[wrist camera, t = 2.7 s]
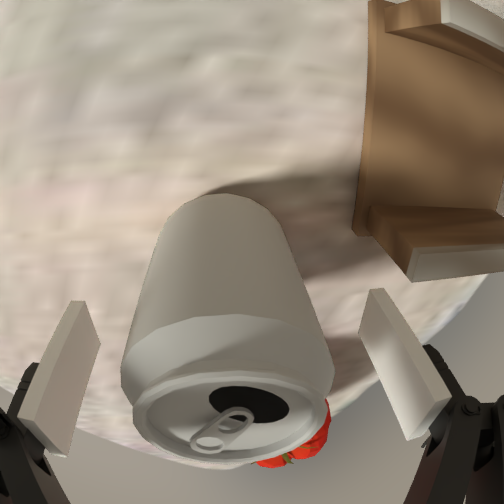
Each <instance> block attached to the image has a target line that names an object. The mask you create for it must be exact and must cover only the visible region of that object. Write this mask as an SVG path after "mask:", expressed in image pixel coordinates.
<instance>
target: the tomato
mask: <svg viewBox="0 0 504 504" xmlns="http://www.w3.org/2000/svg"><path fill="white" fill-rule="evenodd" d="M325 402H326V404H327V407H328V412H327V416H326V419H325V422H324V424H323V426H322V427H321V428H320V429H319V430H318V431H317V432H316V434H315V435H314V436H313V437H312V438H311V439H310V440H308V441H307V442H305V443H303V444H302V445H300V446H299V447H297V448H296V449H294V450H291V451H289V452H286V453H284V454H281V455H279V456H276V457H273V458H269V459H265V460H260V461H255V462H256V463H257V464H258V465H260V466H262V467H268V468H275V467H281V466H285V465H286V463H292V462H291V461H290V460H291V459H292V458H295V459H306V458H309V457H312V456H315V455H316V454H317V453H318V452H319V451H320V450H321V448H322V447H323V445H324V444H325V442H326V441H327V434H328V428H329V425H330V422H331V416H330V409H329V404H328V402H327V399H326V398H325ZM255 462H253V463H255ZM253 463H251V464H253ZM292 464H293V463H292Z"/></svg>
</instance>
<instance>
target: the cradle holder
mask: <svg viewBox="0 0 504 504" xmlns="http://www.w3.org/2000/svg"><path fill="white" fill-rule="evenodd" d="M503 179H504V20H503V19H502V18H500V17H499V16H497V15H495V14H493V13H492V12H490V11H488V10H486V9H485V8H483V7H481V6H479V5H477V4H475V3H474V2H472V1H470V0H409V1H406V2H402V3H399V4H395V3H392V2H388V1H385V0H371V1H368V71H367V92H366V108H365V121H364V133H363V144H362V154H361V163H360V172H359V180H358V188H357V196H356V203H355V210H354V217H353V224H352V230H353V231H354V232H355V234H356V235H357V236H373V237H374V238H375V239H376V240H377V241H378V243H379V244H380V245H381V246H382V247H383V248H384V250H385V251H386V252H387V253H388V254H389V256H390V257H391V258H392V259H393V260H394V262H395V263H396V264H397V265H398V266H399V268H400V269H401V270H402V271H403V273H404V274H405V275H406V276H407V278H408V279H409V280H410V281H411V283H413V282H422V281H431V280H440V279H448V278H457V277H465V276H473V275H480V274H488V273H494V272H502V271H504V217H502V216H501V215H499V214H498V213H497V212H495V211H496V208H497V204H498V200H499V196H500V192H501V188H502V183H503Z"/></svg>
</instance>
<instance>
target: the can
mask: <svg viewBox="0 0 504 504" xmlns="http://www.w3.org/2000/svg"><path fill="white" fill-rule="evenodd" d="M335 372H336V371H335V367H334V364H333V361H332V357H331V354H330V351H329V348H328V345H327V343H326V340H325V337H324V335H323V332H322V329H321V327H320V324H319V321H318V319H317V316H316V313H315V311H314V308H313V306H312V303H311V300H310V298H309V295H308V293H307V290H306V287H305V285H304V282H303V280H302V277H301V275H300V272H299V270H298V267H297V265H296V262H295V260H294V257H293V255H292V252H291V250H290V247H289V245H288V242H287V240H286V237H285V235H284V232H283V230H282V227H281V225H280V223H279V222H278V221H277V220H276V218H275V217H274V216H273V215H272V214H271V213H270V211H269V210H268V209H267V208H265V207H263V206H262V205H260V204H258V203H257V202H255V201H253V200H252V199H250V198H247V197H242V196H238V195H233V194H229V193H224V194H212V195H204V196H202V197H199V198H197V199H194V200H192V201H189V202H187V203H185V204H184V205H182V206H181V207H180V208H179V209H178V210H177V211H175V212H174V213H173V214H172V215H171V216H170V217H169V218H168V220H167V222H166V223H165V225H164V227H163V229H162V231H161V232H160V234H159V237H158V240H157V243H156V246H155V249H154V252H153V255H152V258H151V261H150V264H149V268H148V271H147V274H146V277H145V280H144V283H143V287H142V290H141V293H140V297H139V300H138V304H137V307H136V310H135V314H134V317H133V321H132V325H131V328H130V332H129V336H128V340H127V343H126V347H125V351H124V355H123V359H122V363H121V387H122V389H123V391H124V393H125V395H126V396H127V398H128V400H129V402H130V403H131V405H132V406H133V424H134V425H135V427H136V428H137V430H138V431H139V433H140V434H141V436H142V437H143V438H144V439H145V440H147V441H148V442H149V443H151V444H152V445H154V446H155V447H156V448H158V449H159V450H161V451H164V452H166V453H168V454H171V455H173V456H176V457H178V458H182V459H186V460H191V461H196V462H200V463H211V464H239V463H251V462H255V461H260V460H265V459H269V458H273V457H276V456H279V455H281V454H284V453H286V452H289V451H291V450H294V449H296V448H297V447H299V446H300V445H302V444H303V443H305V442H307V441H308V440H310V439H311V438H312V437H313V436H314V435H315V434H316V432H317V431H318V430H319V429H320V428H321V427H322V426H323V424H324V422H325V419H326V416H327V412H328V407H327V404H326V402H325V398H326V397H327V395H328V394H329V392H330V391H331V388H332V384H333V380H334V376H335Z"/></svg>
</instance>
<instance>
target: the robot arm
mask: <svg viewBox="0 0 504 504" xmlns="http://www.w3.org/2000/svg"><path fill="white" fill-rule="evenodd" d="M358 334H359V336H360V338H361V340H362V342H363V344H364V346H365V348H366V350H367V352H368V355H369V357H370V359H371V361H372V363H373V365H374V367H375V370H376V372H377V374H378V376H379V378H380V380H381V383H382V385H383V387H384V389H385V391H386V394H387V396H388V398H389V400H390V403H391V405H392V407H393V409H394V412H395V414H396V416H397V419H398V421H399V423H400V426H401V428H402V430H403V433H404V435H405V438H406V440H407V441H408V440H411V439H414V438H417V437H420V436H423V434H424V433H425V432H426V431H427V429H428V428H429V430H430V432H431V435H430V436H429V437H428V439H427V440H426V441H425V442H424V443H423V445H422V446H421V447H422V448H424V447H425V445H426V444H427V445H426V448H425V451H424V453H423V456H422V459H421V462H420V465H419V467H418V470H417V473H416V475H415V478H414V480H413V483H412V485H411V487H410V490H409V492H408V494H407V497H406V499H405V501H404V503H403V504H463V502H464V498H465V495H466V502H465V504H504V395H502V396H501V397H499V399H498V400H497V401H496V402H495V403H480V402H479V401H478V400H477V399H476V398H474V397H472V396H466V395H465V393H464V392H463V390H462V389H461V387H460V385H459V384H458V382H457V380H456V379H455V377H454V375H453V374H452V372H451V371H450V369H448V366H447V364H446V363H445V362H444V359H443V358H442V356H441V355H440V353H439V352H438V351H437V350H436V349H435V348H433V347H432V346H431V345H430V344H428V345H423V346H422V345H421V344H420V342H419V340H418V339H417V337H416V336H415V334H414V333H413V331H412V329H411V328H410V326H409V325H408V323H407V322H406V320H405V319H404V317H403V316H402V314H401V313H400V311H399V310H398V308H397V307H396V305H395V304H394V302H393V301H392V299H391V298H390V296H389V295H388V294H387V292H386V291H385V289H384V288H378V289H370V290H369V294H368V298H367V302H366V306H365V309H364V313H363V317H362V320H361V324H360V328H359V331H358ZM100 345H101V343H100V341H99V338H98V335H97V333H96V330H95V328H94V325H93V322H92V320H91V317H90V314H89V311H88V308H87V305H86V303H85V301H71V302H70V304H69V306H68V307H67V309H66V311H65V313H64V315H63V317H62V319H61V321H60V322H59V324H58V326H57V328H56V330H55V332H54V334H53V336H52V338H51V340H50V342H49V344H48V346H47V348H46V350H45V353H44V355H43V357H42V359H41V361H40V363H34V362H33V363H32V364H31V365H30V366H29V367H28V368H27V369H26V370H25V372H24V374H23V377H22V379H21V382H20V383H19V385H18V390H16V392H15V395H14V397H13V399H12V402H11V404H10V406H9V409H8V411H7V414H5V412H4V411H3V410H2V409H1V408H0V504H70V502H69V500H68V498H67V497H66V495H65V493H64V491H63V490H62V488H61V486H60V484H59V482H58V480H57V478H56V476H55V475H54V472H53V470H52V469H51V466H50V464H49V462H48V460H47V458H46V457H45V455H44V454H43V453H44V449H45V448H46V449H47V450H48V451H49V452H50V453H51V454H53V455H58V456H62V457H66V458H67V457H68V453H69V448H70V444H71V440H72V436H73V432H74V429H75V425H76V421H77V418H78V414H79V411H80V407H81V404H82V400H83V397H84V394H85V390H86V387H87V384H88V381H89V377H90V374H91V371H92V368H93V365H94V362H95V359H96V356H97V353H98V350H99V348H100Z"/></svg>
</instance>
